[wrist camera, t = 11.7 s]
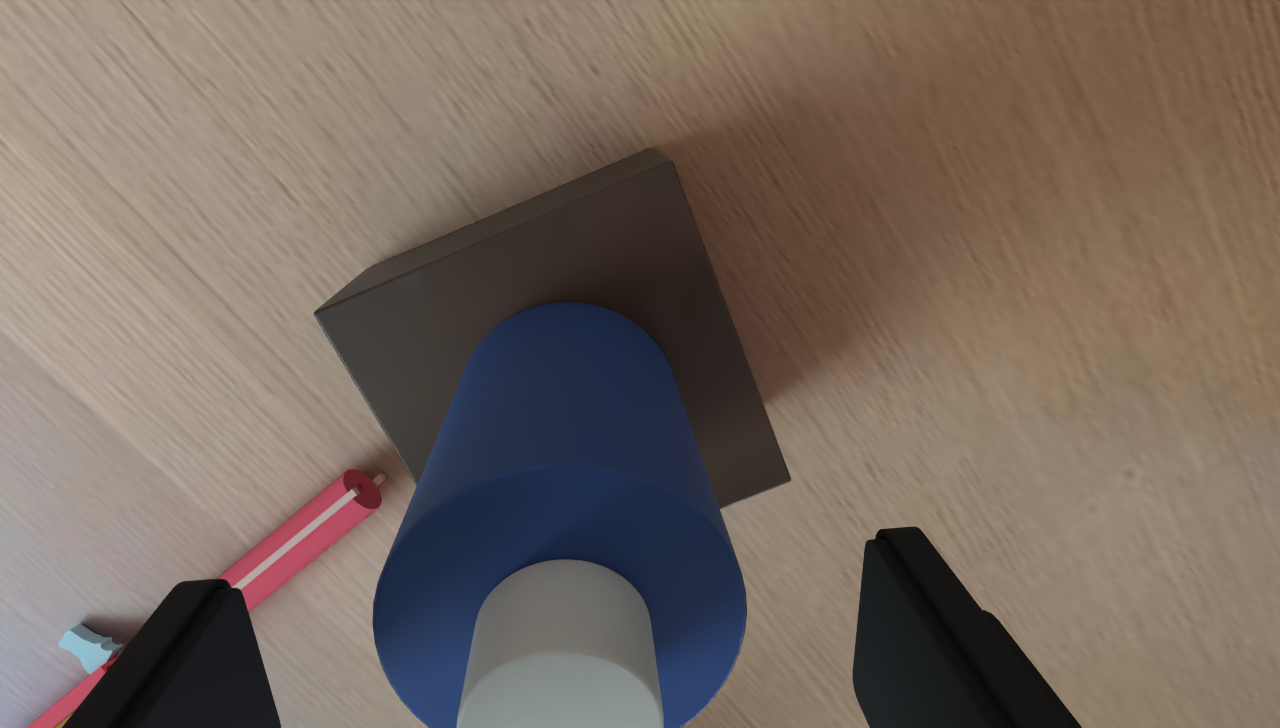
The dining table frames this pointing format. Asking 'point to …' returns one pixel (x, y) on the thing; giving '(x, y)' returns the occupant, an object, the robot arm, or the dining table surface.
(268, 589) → the pink long slotted bar
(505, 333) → the bottle
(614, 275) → the block
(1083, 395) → the dining table surface
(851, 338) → the dining table surface
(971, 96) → the dining table surface
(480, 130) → the dining table surface
